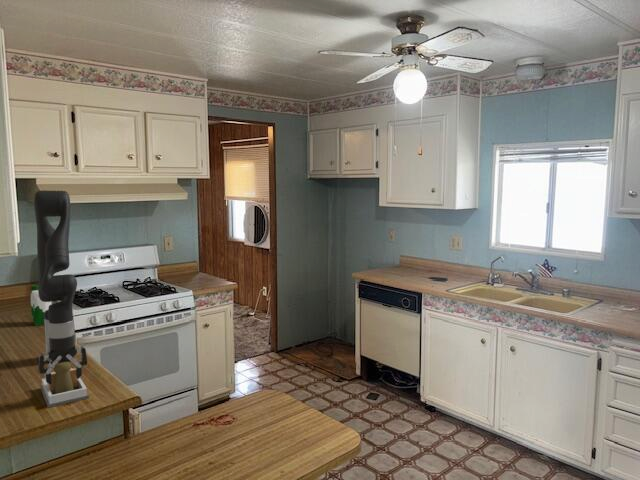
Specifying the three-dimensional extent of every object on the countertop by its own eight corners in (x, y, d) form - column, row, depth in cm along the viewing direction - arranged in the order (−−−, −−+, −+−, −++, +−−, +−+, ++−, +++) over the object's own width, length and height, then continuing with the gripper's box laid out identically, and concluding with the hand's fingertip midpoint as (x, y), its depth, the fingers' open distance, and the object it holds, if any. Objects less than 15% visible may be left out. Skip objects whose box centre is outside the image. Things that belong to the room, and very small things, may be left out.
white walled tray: (40, 388, 168) (39, 374, 167) (78, 380, 175) (77, 367, 174) (47, 407, 153) (47, 392, 153) (88, 398, 160) (88, 383, 160)
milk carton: (31, 322, 247) (29, 284, 245) (51, 320, 252) (49, 282, 250) (32, 326, 240) (30, 287, 238) (53, 324, 245) (51, 285, 243)
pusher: (48, 388, 164) (47, 371, 164) (75, 382, 169) (74, 366, 169) (49, 392, 162) (48, 375, 161) (77, 386, 167) (76, 369, 166)
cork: (66, 397, 158) (64, 365, 157) (49, 396, 159) (47, 364, 158) (77, 390, 164) (76, 359, 163) (61, 389, 165) (60, 358, 164)
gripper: (82, 327, 168) (85, 372, 169) (35, 335, 159) (38, 382, 161) (87, 333, 162) (89, 379, 163) (38, 341, 153) (41, 389, 155)
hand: (64, 380), depth 162 cm, fingers open, 8 cm apart
